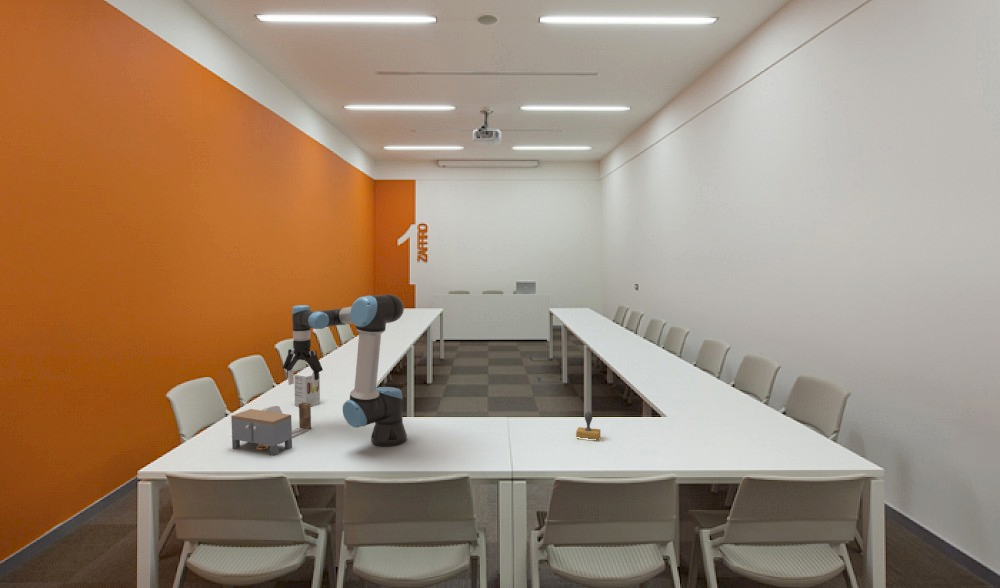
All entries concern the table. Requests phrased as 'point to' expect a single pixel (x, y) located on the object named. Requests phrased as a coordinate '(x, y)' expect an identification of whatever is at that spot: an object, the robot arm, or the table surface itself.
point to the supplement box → (306, 389)
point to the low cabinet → (262, 429)
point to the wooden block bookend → (303, 419)
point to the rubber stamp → (588, 429)
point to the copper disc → (262, 447)
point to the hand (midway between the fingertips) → (303, 385)
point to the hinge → (273, 409)
